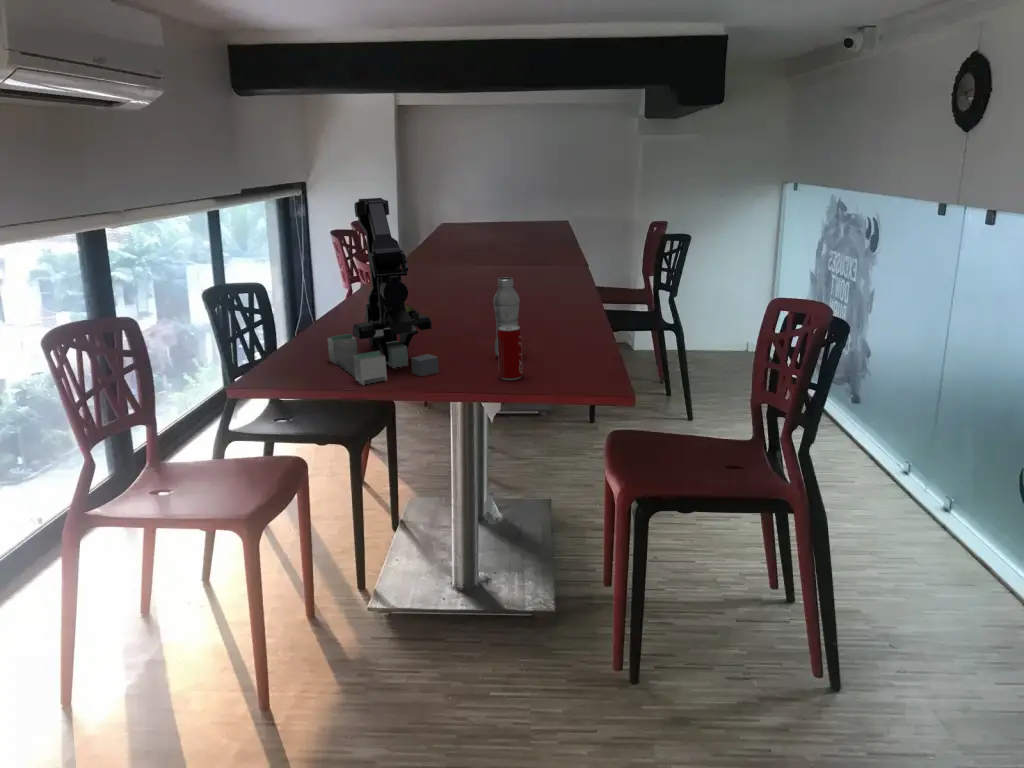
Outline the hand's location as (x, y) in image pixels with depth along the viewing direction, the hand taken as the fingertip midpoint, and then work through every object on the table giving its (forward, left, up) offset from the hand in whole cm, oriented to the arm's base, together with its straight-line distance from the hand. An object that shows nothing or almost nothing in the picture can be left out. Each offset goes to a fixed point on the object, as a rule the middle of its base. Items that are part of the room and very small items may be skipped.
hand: (395, 360), depth 194 cm
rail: (+10, 0, -1) cm, 10 cm away
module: (0, 0, -1) cm, 1 cm away
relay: (-3, +12, -1) cm, 12 cm away
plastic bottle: (-26, +11, -1) cm, 28 cm away
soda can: (-18, +27, -1) cm, 32 cm away
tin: (-12, -35, -1) cm, 37 cm away
